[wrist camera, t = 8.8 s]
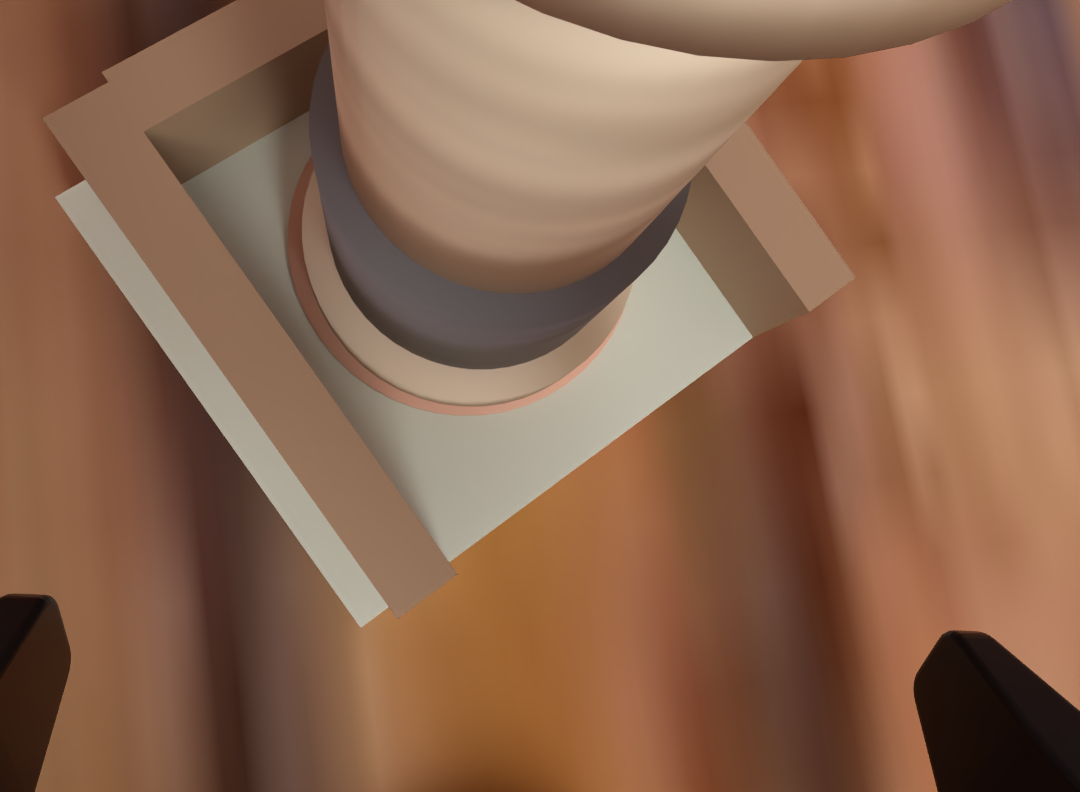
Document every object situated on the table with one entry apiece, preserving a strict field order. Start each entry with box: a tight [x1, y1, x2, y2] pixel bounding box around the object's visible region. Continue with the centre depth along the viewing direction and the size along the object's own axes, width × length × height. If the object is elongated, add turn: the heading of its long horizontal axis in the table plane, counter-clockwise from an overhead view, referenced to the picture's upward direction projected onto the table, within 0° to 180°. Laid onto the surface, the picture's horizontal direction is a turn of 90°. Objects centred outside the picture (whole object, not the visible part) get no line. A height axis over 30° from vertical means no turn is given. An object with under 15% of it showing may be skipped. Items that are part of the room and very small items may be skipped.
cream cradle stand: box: [42, 0, 855, 628], centre depth 17 cm, size 12×10×4 cm
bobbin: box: [302, 0, 1012, 406], centre depth 11 cm, size 6×6×14 cm
